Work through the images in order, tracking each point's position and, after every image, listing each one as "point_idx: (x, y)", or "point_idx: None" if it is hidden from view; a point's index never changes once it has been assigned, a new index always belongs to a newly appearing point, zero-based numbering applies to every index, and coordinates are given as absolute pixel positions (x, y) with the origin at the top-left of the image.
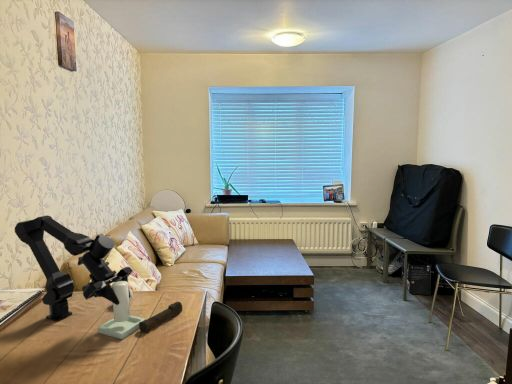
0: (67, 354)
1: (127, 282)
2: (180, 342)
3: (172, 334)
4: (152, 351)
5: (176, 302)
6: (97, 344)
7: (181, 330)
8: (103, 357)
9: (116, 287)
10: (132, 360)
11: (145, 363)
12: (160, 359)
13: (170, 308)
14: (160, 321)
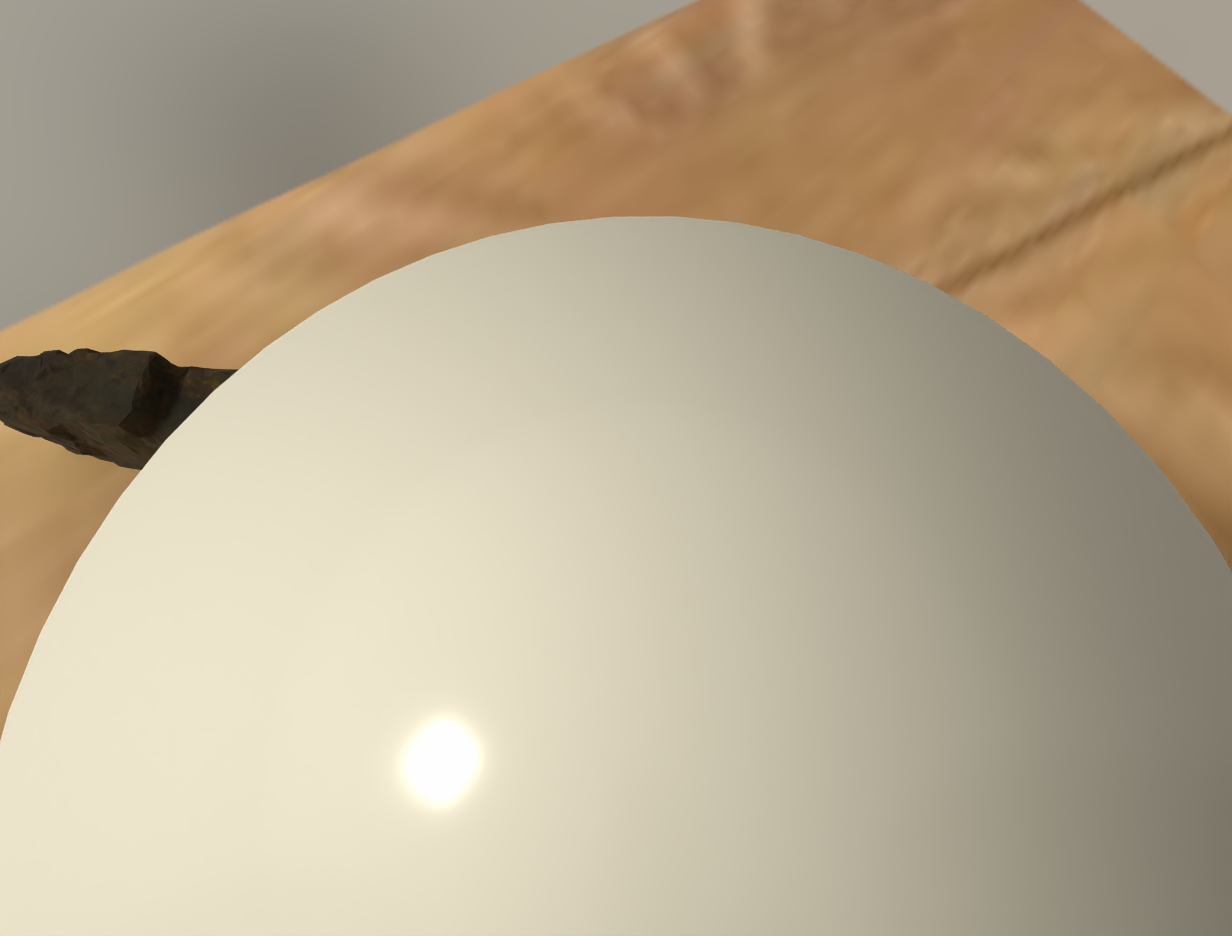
0: None
1: (204, 439)
2: (603, 99)
3: (528, 214)
4: (819, 169)
5: (13, 389)
6: None
7: (440, 200)
8: (1183, 433)
9: (1119, 487)
10: (1010, 198)
11: (964, 105)
12: (858, 65)
13: (167, 382)
14: None
